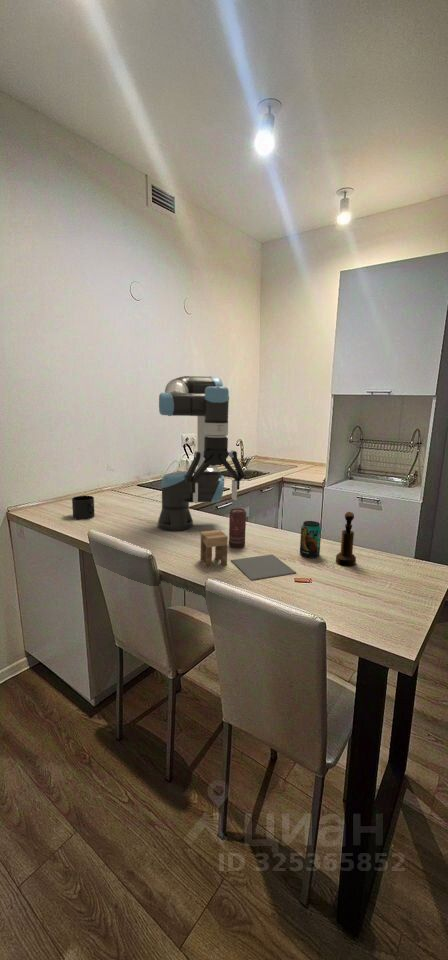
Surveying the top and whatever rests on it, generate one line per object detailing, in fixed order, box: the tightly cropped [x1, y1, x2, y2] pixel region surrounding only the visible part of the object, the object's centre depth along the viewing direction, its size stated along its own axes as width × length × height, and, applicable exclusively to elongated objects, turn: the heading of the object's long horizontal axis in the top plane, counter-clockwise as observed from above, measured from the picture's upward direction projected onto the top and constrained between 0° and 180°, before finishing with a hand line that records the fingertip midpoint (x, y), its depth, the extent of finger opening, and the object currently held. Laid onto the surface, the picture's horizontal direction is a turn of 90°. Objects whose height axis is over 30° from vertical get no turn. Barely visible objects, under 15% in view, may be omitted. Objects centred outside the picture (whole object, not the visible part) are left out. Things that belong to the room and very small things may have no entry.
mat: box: [230, 553, 297, 581], centre depth 131 cm, size 16×16×1 cm
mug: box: [71, 495, 96, 520], centre depth 181 cm, size 9×12×9 cm
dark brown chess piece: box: [335, 511, 357, 567], centre depth 134 cm, size 7×6×18 cm
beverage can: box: [299, 520, 322, 559], centre depth 141 cm, size 7×7×12 cm
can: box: [228, 508, 247, 549], centre depth 149 cm, size 6×6×14 cm
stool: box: [200, 529, 229, 569], centre depth 133 cm, size 7×7×10 cm
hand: (215, 501), depth 130 cm, fingers open, 13 cm apart
